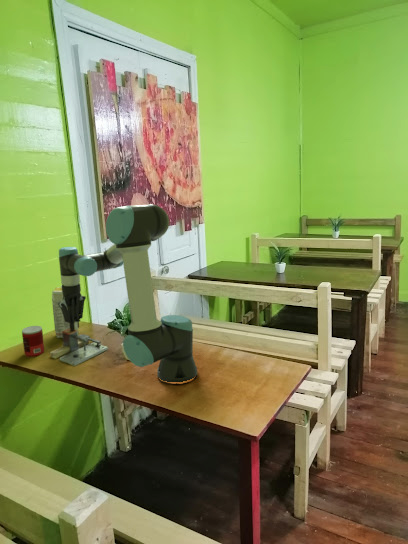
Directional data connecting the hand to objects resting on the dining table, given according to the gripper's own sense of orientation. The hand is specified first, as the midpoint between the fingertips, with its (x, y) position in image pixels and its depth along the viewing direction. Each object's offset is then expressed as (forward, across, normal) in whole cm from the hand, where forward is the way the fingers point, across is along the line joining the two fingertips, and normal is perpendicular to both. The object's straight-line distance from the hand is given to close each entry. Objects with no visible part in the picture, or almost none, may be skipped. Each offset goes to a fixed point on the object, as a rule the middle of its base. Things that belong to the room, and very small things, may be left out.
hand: (75, 335), depth 175 cm
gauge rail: (+5, +3, +4) cm, 7 cm away
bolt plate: (+5, +3, +9) cm, 11 cm away
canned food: (+6, +14, -10) cm, 18 cm away
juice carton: (+6, -6, -14) cm, 16 cm away
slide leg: (+5, +3, +4) cm, 7 cm away
